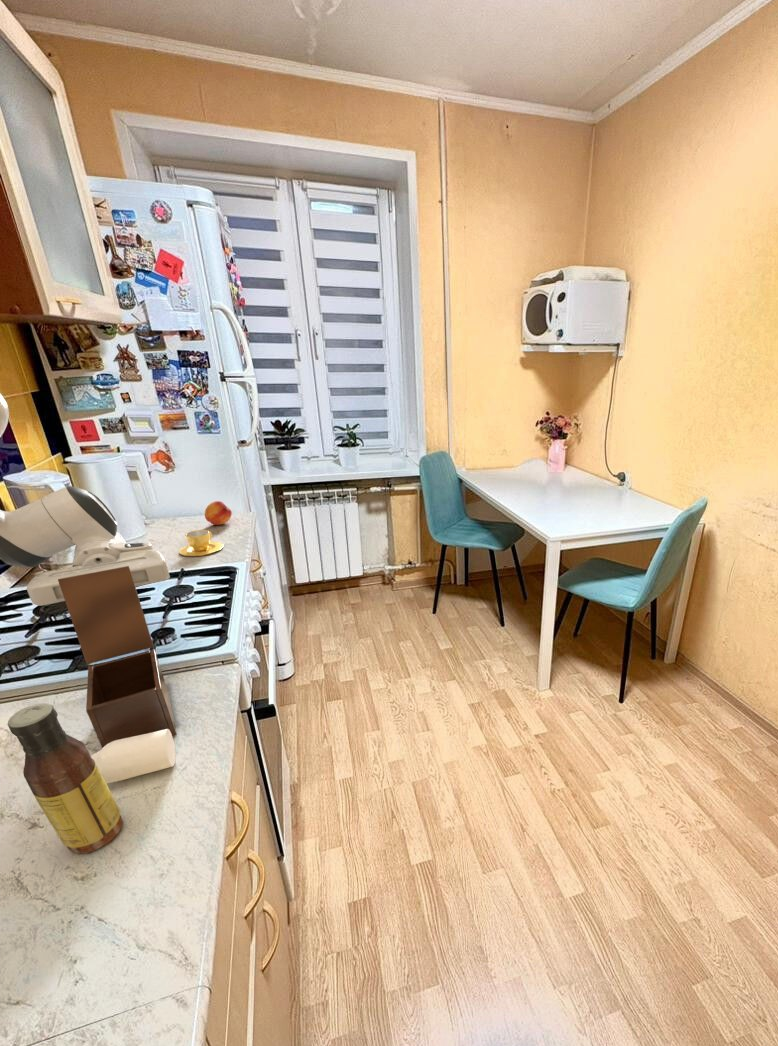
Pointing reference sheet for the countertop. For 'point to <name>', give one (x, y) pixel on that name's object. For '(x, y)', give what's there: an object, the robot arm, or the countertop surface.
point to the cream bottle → (136, 756)
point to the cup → (200, 543)
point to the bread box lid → (106, 613)
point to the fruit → (217, 513)
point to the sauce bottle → (65, 780)
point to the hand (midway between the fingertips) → (102, 593)
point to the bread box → (128, 698)
